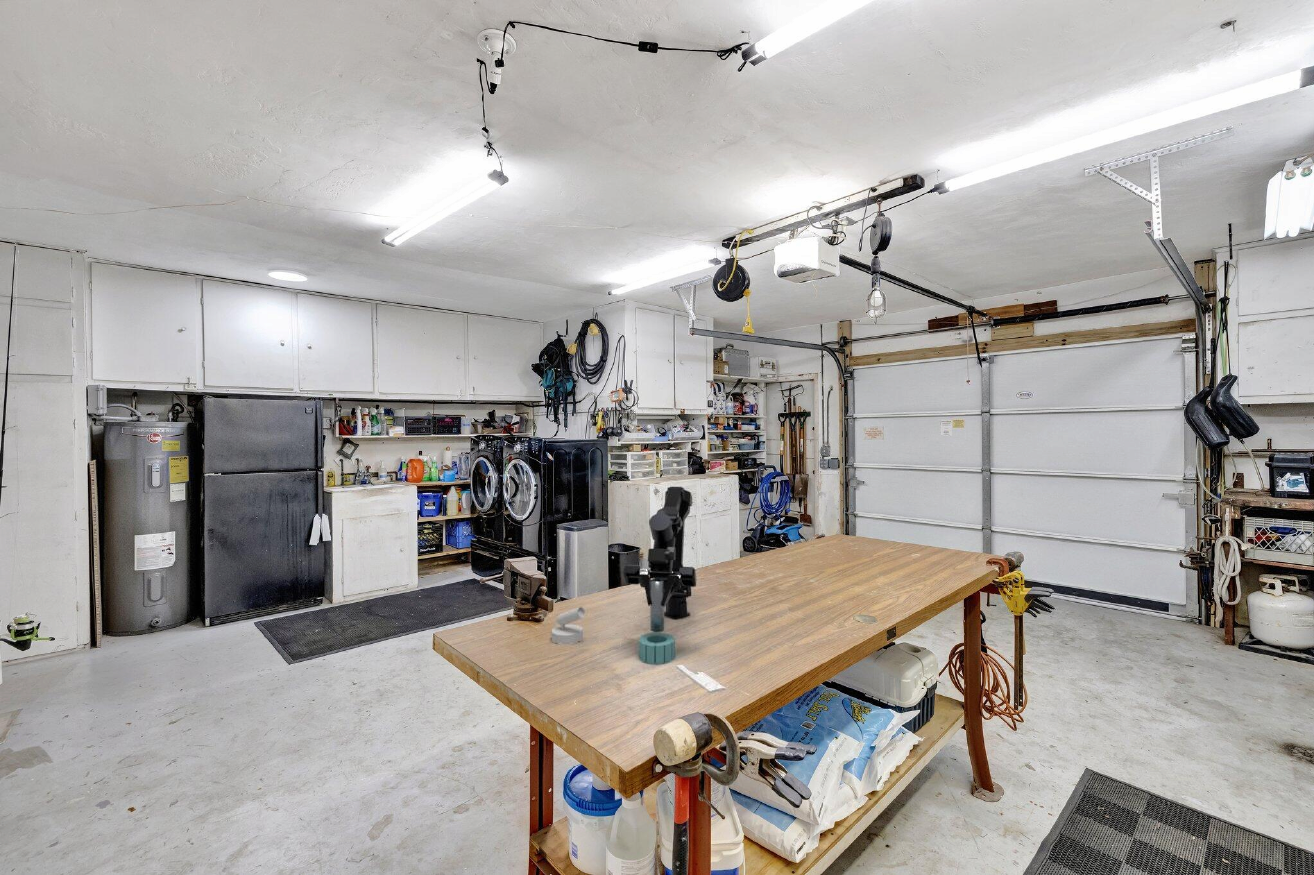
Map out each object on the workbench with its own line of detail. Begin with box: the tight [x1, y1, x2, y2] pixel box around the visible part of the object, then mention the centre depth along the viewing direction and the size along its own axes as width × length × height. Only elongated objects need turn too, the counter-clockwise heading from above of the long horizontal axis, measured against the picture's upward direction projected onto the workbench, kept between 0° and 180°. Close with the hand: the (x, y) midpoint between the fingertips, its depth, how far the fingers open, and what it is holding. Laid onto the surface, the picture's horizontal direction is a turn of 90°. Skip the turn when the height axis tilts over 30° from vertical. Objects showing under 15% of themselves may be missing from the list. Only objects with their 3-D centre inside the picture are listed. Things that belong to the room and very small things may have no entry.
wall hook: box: [551, 606, 586, 645], centre depth 153 cm, size 9×10×10 cm
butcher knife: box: [675, 664, 726, 694], centre depth 128 cm, size 5×15×1 cm, turn 27°
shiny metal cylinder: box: [649, 579, 665, 633], centre depth 140 cm, size 4×4×12 cm
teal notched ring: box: [638, 632, 676, 665], centre depth 140 cm, size 9×9×4 cm
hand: (656, 605), depth 139 cm, fingers closed on shiny metal cylinder, 3 cm apart
